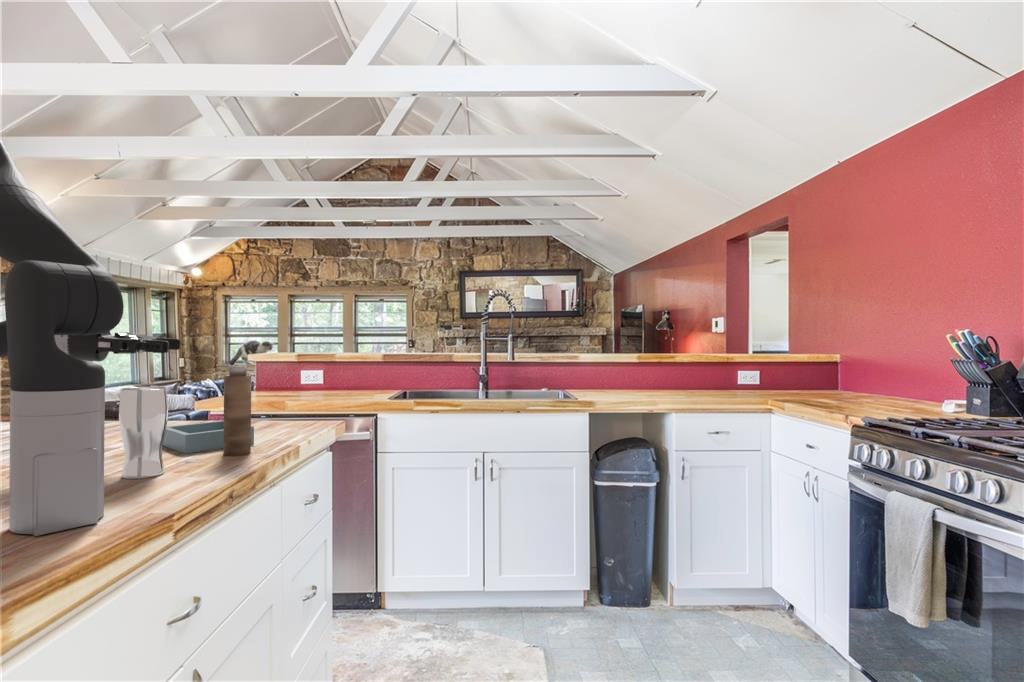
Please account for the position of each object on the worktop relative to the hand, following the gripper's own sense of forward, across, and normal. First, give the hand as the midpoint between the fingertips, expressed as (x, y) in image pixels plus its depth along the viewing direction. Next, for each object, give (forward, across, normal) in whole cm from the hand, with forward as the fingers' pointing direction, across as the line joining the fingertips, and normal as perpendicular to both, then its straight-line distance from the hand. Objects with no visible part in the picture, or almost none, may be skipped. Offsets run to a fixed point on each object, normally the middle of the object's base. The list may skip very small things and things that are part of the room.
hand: (174, 345), depth 104 cm
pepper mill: (+12, 0, +22) cm, 25 cm away
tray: (+5, +12, +22) cm, 26 cm away
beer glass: (0, -14, +22) cm, 26 cm away
